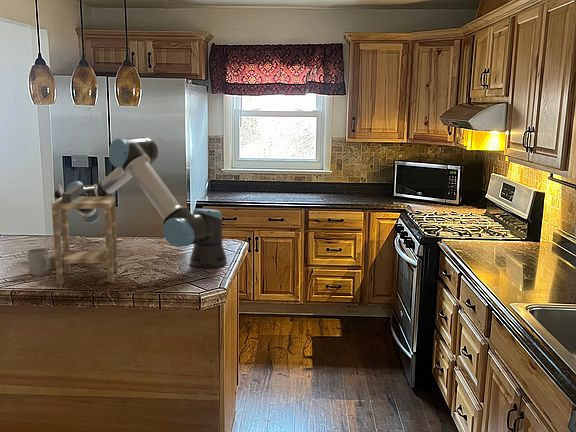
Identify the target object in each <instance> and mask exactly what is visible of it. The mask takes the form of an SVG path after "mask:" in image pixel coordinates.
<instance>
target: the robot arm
mask: <svg viewBox="0 0 576 432" xmlns="http://www.w3.org/2000/svg"><path fill="white" fill-rule="evenodd" d="M158 156H159V147H158V145H157V143H156V142H155V141H154V140H153V139H152V138H149V137H147V136H138V137H135V136H134V137H133V136H132V137H120V138H116V139H114V140H113V141H112V142H111V143H110V145H109V149H108V159H109V161H110V164H111V165H112V166H113V167H116V168H115V169H114V170H113V171H112V172H110V173H108V175H107V176H105V178H103V179H102V180H101V181H99V182H98V183H94V184H88V185H84V183H83V182H82V181H79V180H77V181H73V182H71V183H69V184H68V186H66V191H67V190H68V189H70V188H71V187H73V186H74V185H83V191H84V192H83V193H82V194H80V195H79V196H83V197H96V196H115V194H116V191H117V190H118V189H120V188H121V187H122V186H123V185H125V184H126V183H127V182H128V181H129V180H130V179H132V178H133V179H134V180H135V182H136V183H137V185H138V186H139V187H140V189H141V190H142V191H143V193H144V194H145V195H146V197H147V198H148V200H149V201H150V203H151V204H152V205H153V207H154V209H155V210H156V211H157V212H158V214H159V215H160V216H161V218H162V221H161V224H162V232H163V237H164V239H165V240H166V242H167V243H168V244H169V245H171V246H172V247H175V248H183V247H189V246H190V245H191V246H192V245H193V249H192V252H191V255H190V258H189V263H190V265H191V266H193V267H195V268H202V269H205V268H206V269H209V268H210V269H212V268H218V267H223V266H226V265H227V261H228V260H227V256H226V252H225V250H224V249H225V248H224V247H223V216H222V215H223V214H222V212H221V210H217V209H211V208H195V209H194V208H193V211H192V213H191V211H190V210H189V208H188V207H186V206H183V205H181V204H180V203H179V202H178V201H177V199H176V197H175V196H174V195H173V193H172V192H171V190H170V189H169V188H168V186H167V185H166V184H165V182H163V180H162V179H161V177H160V176H159V174H158V173H157V172H156V170H155V169H154V168H153V166H152V165H153V164H154V163H155V162H156V160H157V159H158ZM62 186H63V185H61V183H58V185H57V189H56V190H55V191H54V195H53V197H54V198H55V199H56V200H58V199H59V198H60V197H62V194H63V193H64V192H65V190H64V188H63V187H62ZM76 210H77V212H78V213H79V216H81V219H82V221H83V222H84V223H85V224H88V225H93V224H96V222H98V221H99V219H100V211H99V210H98V209H76Z"/></svg>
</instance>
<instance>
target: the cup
mask: <svg viewBox="0 0 576 432" xmlns="http://www.w3.org/2000/svg"><path fill="white" fill-rule="evenodd" d="M48 253H49V252H48V249H47V248H32V249H28V250H27V262H28V265H27V266H28V273H29V275H31V276H40V275H46V274H48V273H49V271H50V269H51V259H50V257H49V255H48Z"/></svg>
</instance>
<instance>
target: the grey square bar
mask: <svg viewBox="0 0 576 432" xmlns="http://www.w3.org/2000/svg"><path fill="white" fill-rule="evenodd" d="M83 185H84V184H83ZM83 185H74V186H73V187H71V188H70V189H68V190H67V189H66V191H64V193H63V194H62V202H72V201H73V200H74V199H76V198H77V197H78V196H79V195H80V194H82V193H83V192H84V191H83Z"/></svg>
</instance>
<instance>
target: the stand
mask: <svg viewBox="0 0 576 432" xmlns="http://www.w3.org/2000/svg"><path fill="white" fill-rule="evenodd" d="M77 209H97V210H98V209H103V211H104V213H103V214H104V230H105V250H89V251H87V250H86V251H83V250H82V251H81V250H79V251H71V250H70V249H71V248H70V237H69V236H70V234H69V233H70V231H69V218H68V216H69V214H68V210H77ZM116 213H117V212H116V196H115V195H114V196H96V197H83V196H78V197H77V198H76V199H74V200H73V201H72V202H62V197H60V198H59V199H56V200H54V202H52V203H51V217H52V229H53V230H52V231H53V245H54V247H53V248H54V262H55V263H54V264H55V276H56V277H55V278H56V285H63V284H64V282H65V280H64V274H65V275H67V274H68V275H69V274H71V273H72V265H71V264H89V263H90V264H95V263H106V272H107V273H106V274H107V276H106V277H107V283H114V282H115V275H114V273H117V272H119V259H118V257H119V256H118V238H117V234H118V233H117V214H116ZM60 219H61V220H60ZM62 251H63V252H62Z"/></svg>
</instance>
